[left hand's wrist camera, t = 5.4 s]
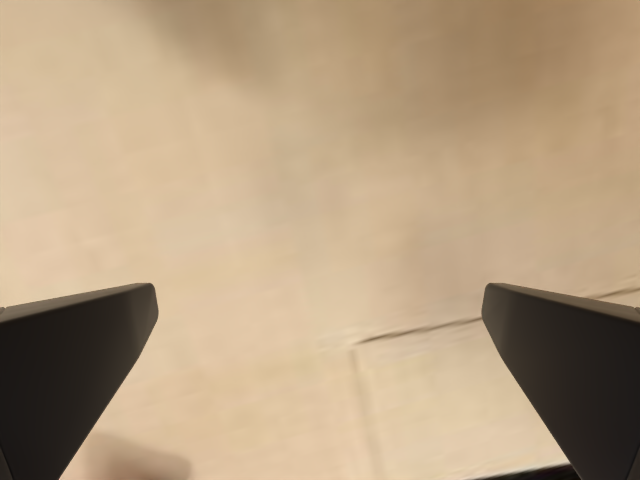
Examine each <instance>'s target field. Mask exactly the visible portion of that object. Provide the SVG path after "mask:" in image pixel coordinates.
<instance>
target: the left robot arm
mask: <svg viewBox="0 0 640 480" xmlns="http://www.w3.org/2000/svg"><path fill="white" fill-rule="evenodd" d="M157 319H158V305H157V299H156V293H155V288H154V286H153V284H151V283H135V284H130V285H124V286H119V287H113V288H108V289H103V290H97V291H92V292H86V293H81V294H75V295H70V296H64V297H59V298H53V299H48V300H42V301H37V302H32V303H26V304H21V305H15V306H10V307H6V309H5V308H4V307H1V308H0V480H59V478H60V477H61V475H62V474H63V472H64V471H65V469H66V468H67V466H68V464H69V463H70V461H71V460H72V458H73V457H74V455H75V454H76V452H77V451H78V449H79V448H80V446H81V445H82V443H83V442H84V440H85V439H86V437H87V436H88V434H89V433H90V431H91V430H92V428H93V427H94V425H95V424H96V422H97V421H98V419H99V417H100V416H101V414H102V413H103V411H104V410H105V408H106V407H107V405H108V404H109V402H110V401H111V399H112V398H113V396H114V395H115V393H116V392H117V390H118V389H119V387H120V386H121V384H122V383H123V381H124V380H125V378H126V377H127V375H128V373H129V372H130V370H131V369H132V367H133V366H134V364H135V363H136V361H137V359H138V358H139V356H140V354H141V352H142V350H143V348H144V346H145V344H146V342H147V340H148V338H149V336H150V334H151V332H152V330H153V328H154V326H155V324H156V322H157ZM482 319H483V322H484V324H485V326H486V328H487V330H488V332H489V334H490V336H491V338H492V340H493V342H494V344H495V346H496V348H497V350H498V352H499V354H500V356H501V358H502V359H503V361H504V363H505V364H506V366H507V367H508V369H509V370H510V372H511V373H512V375H513V376H514V378H515V380H516V381H517V383H518V384H519V386H520V387H521V389H522V390H523V392H524V393H525V395H526V396H527V398H528V399H529V401H530V402H531V404H532V405H533V407H534V408H535V410H536V411H537V413H538V414H539V416H540V417H541V419H542V420H543V422H544V423H545V425H546V426H547V428H548V430H549V431H550V433H551V434H552V436H553V437H554V439H555V440H556V442H557V443H558V445H559V446H560V448H561V449H562V451H563V452H564V454H565V455H566V457H567V458H568V460H569V461H570V463H571V464H572V466H573V467H574V469H575V471H576V472H577V474H578V475H579V477H580V478H581V480H640V308H639V307H636V308H635V309H634V308H633V307H631V306H625V305H620V304H614V303H609V302H603V301H598V300H592V299H587V298H581V297H576V296H570V295H565V294H559V293H554V292H549V291H543V290H538V289H532V288H527V287H521V286H516V285H510V284H505V283H489V284H487V286H486V288H485V293H484V299H483V305H482Z"/></svg>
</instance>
